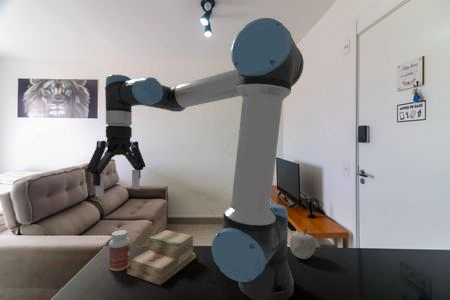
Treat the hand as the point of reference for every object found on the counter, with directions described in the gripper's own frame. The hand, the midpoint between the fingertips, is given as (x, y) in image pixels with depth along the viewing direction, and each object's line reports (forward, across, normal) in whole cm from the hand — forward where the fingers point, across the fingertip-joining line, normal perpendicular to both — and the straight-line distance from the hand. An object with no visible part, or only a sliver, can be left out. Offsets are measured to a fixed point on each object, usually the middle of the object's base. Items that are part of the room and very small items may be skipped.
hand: (119, 192), depth 75 cm
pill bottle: (+24, 0, 0) cm, 24 cm away
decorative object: (+24, -33, +52) cm, 66 cm away
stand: (+24, -7, +12) cm, 28 cm away
